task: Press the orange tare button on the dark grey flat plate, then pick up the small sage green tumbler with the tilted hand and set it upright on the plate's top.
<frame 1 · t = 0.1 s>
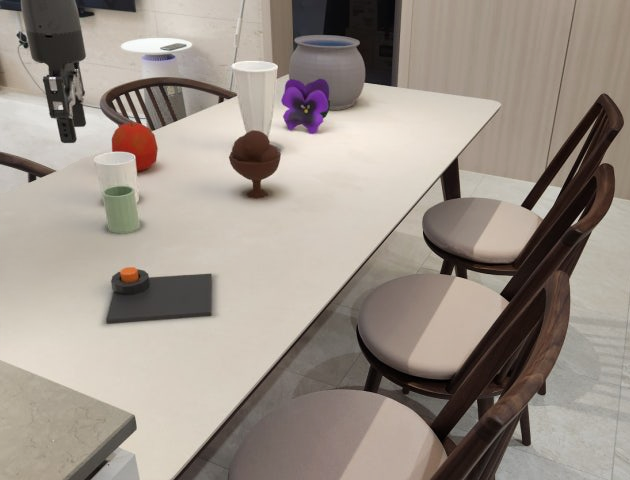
hand: (74, 134, 102), 22 cm above the table, tool pointing down, fingers open, 8 cm apart
tare button: (129, 275, 101), point 3 cm above the table, slide at 0.1 cm
grey round pot: (326, 104, 210), on the table
cup: (258, 151, 166), on the table
ice cream bowl: (257, 197, 139), on the table
sage green tumbler: (124, 229, 122), on the table
apple: (137, 169, 151), on the table
flower: (309, 127, 187), on the table
dark grey flat plate: (163, 302, 100), on the table
white cup: (122, 204, 133), on the table
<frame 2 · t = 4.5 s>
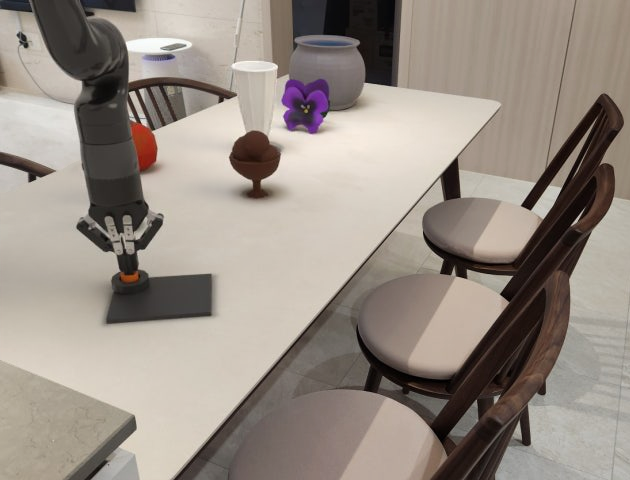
hand: (129, 272, 100), 4 cm above the table, tool pointing down, fingers closed
tare button: (129, 276, 101), point 3 cm above the table, slide at -0.2 cm, touching gripper
everything else where it was.
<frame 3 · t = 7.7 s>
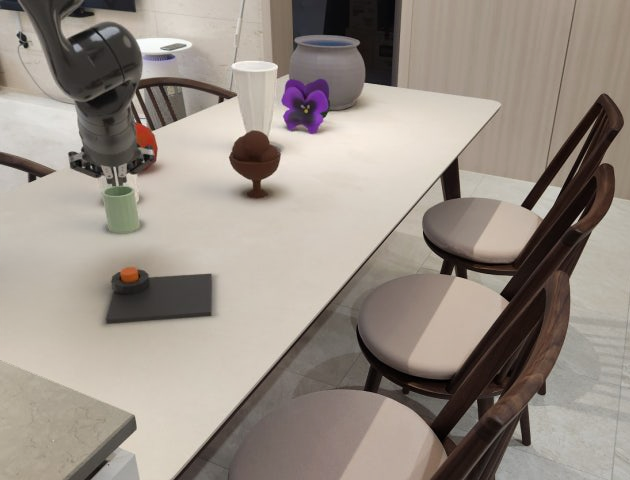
hand: (116, 181, 107), 14 cm above the table, tool tilted 45°, fingers closed
tare button: (129, 275, 101), point 3 cm above the table, slide at 0.1 cm
everything else where it was.
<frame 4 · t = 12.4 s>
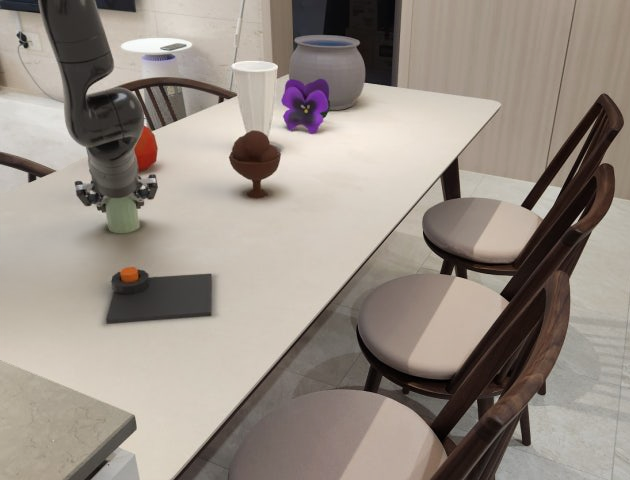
hand: (120, 205, 121), 4 cm above the table, tool tilted 45°, fingers closed on sage green tumbler, 5 cm apart
sage green tumbler: (124, 229, 122), on the table, touching gripper
everything else where it was.
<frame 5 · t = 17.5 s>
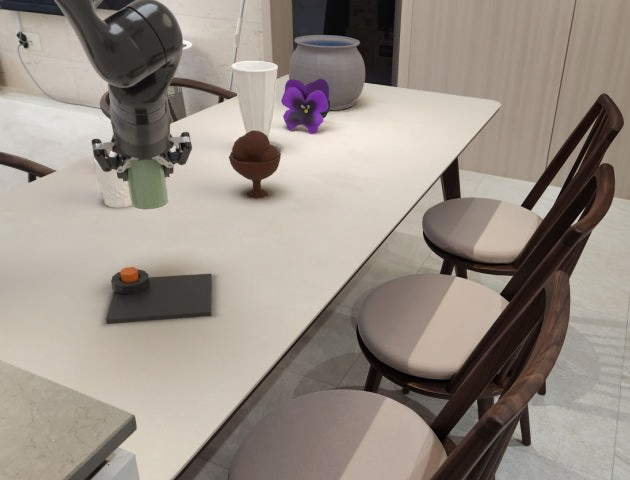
hand: (145, 173, 101), 17 cm above the table, tool tilted 45°, fingers closed on sage green tumbler, 5 cm apart
sage green tumbler: (150, 202, 102), point 13 cm above the table, touching gripper
everything else where it was.
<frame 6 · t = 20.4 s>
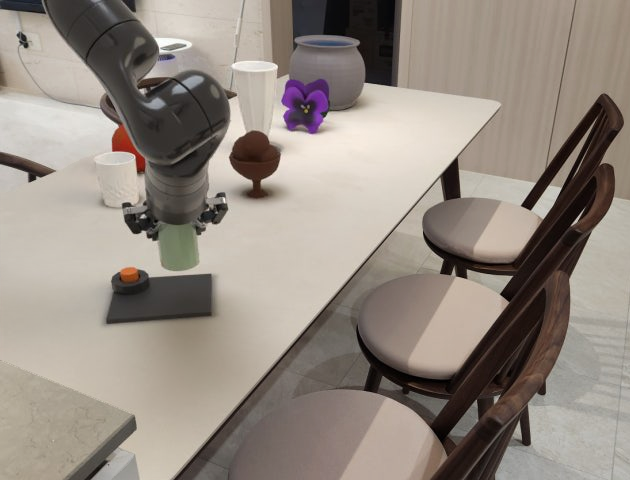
hand: (175, 232, 94), 12 cm above the table, tool tilted 45°, fingers closed on sage green tumbler, 5 cm apart
sage green tumbler: (180, 262, 95), point 8 cm above the table, touching gripper
everything else where it was.
when the fingers open (6 cm above the table, at t = 22.9 s): sage green tumbler stays where it is, resting on dark grey flat plate.
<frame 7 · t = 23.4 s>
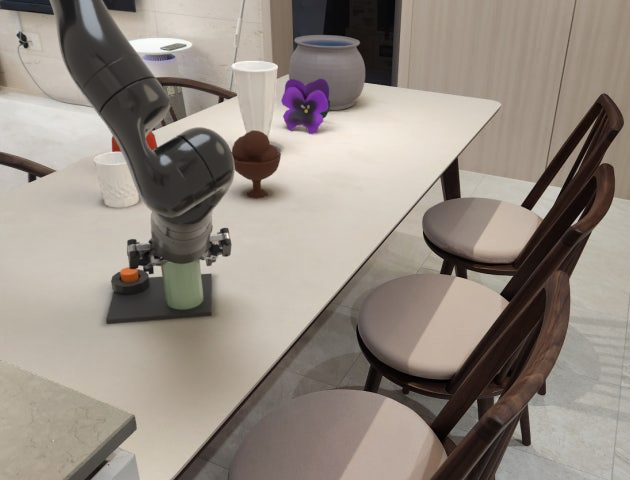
hand: (179, 264, 97), 7 cm above the table, tool tilted 45°, fingers open, 8 cm apart
sage green tumbler: (185, 300, 99), point 1 cm above the table, touching dark grey flat plate
everything else where it was.
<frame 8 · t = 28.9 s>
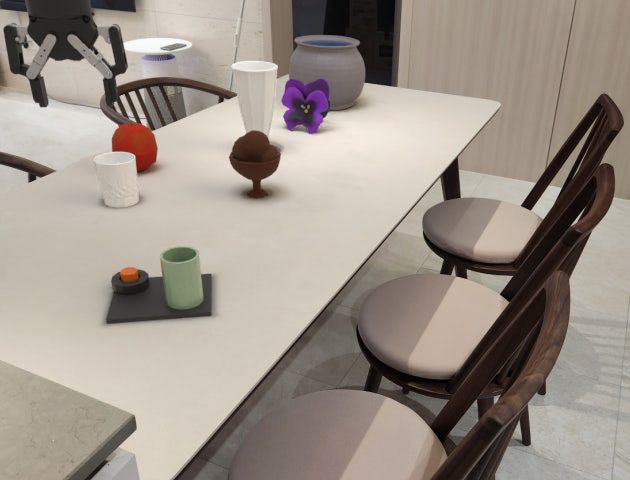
hand: (77, 105, 87), 30 cm above the table, tool pointing down, fingers open, 8 cm apart
nothing on the table moved.
at the end: tare button pushed in 0.9 cm at the most during the clip, back to where it started at the end; sage green tumbler inside the target area on the dark grey flat plate (4.2 cm from its centre), point 1.4 cm above the dark grey flat plate's base; sage green tumbler tilted 0° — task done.
